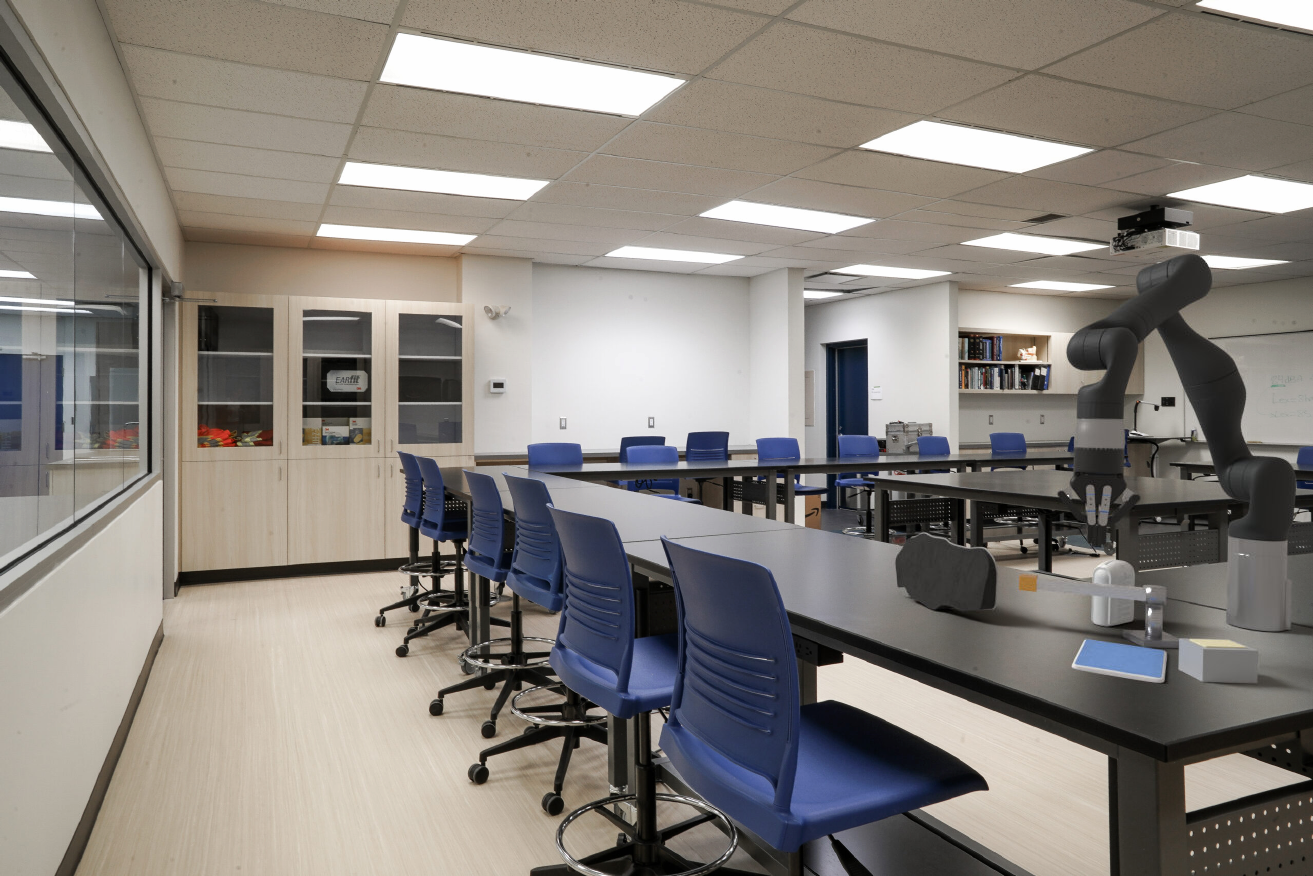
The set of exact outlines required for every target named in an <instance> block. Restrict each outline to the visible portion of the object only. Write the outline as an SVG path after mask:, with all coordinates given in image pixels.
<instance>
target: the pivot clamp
mask: <svg viewBox="0 0 1313 876" xmlns="http://www.w3.org/2000/svg"><path fill="white" fill-rule="evenodd" d="M1163 611H1164V606H1154V605H1148V604H1145V620H1144V623H1145V624H1144V630H1135V629H1133V630H1131V629H1122V637H1123V638H1125V639H1127V640H1129V641H1130V642H1133V643H1134V644H1137V645H1138V646H1139V647H1144V648H1151V649H1179V638H1180V637H1176V636H1174V635H1172V634H1170V633H1167V632H1165V631H1163V621H1164V620H1163V616H1164V615H1163V614H1164V612H1163Z"/></svg>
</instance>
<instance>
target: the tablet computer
mask: <svg viewBox="0 0 1313 876" xmlns="http://www.w3.org/2000/svg"><path fill="white" fill-rule="evenodd" d="M1167 661H1168V653H1167V651H1165V650H1163V649H1159V648H1148V647H1142V646H1139V645H1138V646H1137V645H1130V644H1122V643H1118V642H1116V643H1115V642H1109V641H1101V640H1095V639H1089V638H1087V639H1084V640H1083V642H1082V644H1081V646H1080V648H1079V650H1078V652H1077V654H1076V656H1075V658H1074V660H1073V662H1072V664H1071V668H1072V669H1073V670H1077V671H1083V672H1087V673H1094V674H1099V675H1106V676H1111V677H1118V678H1125V679H1130V680H1135V681H1136V680H1137V681H1142V682H1148V683H1149V682H1150V683H1156V684H1161V683H1164V682H1165V678H1166V677H1165V676H1166V668H1167Z"/></svg>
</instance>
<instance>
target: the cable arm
mask: <svg viewBox="0 0 1313 876" xmlns="http://www.w3.org/2000/svg"><path fill="white" fill-rule="evenodd" d="M1167 589H1168V588H1167V587H1165V586H1163V585H1157V584H1144V585H1142V587H1141V586H1134V587H1133V586H1123V585H1113V584H1102V583H1092V581H1091V582H1090V581H1082V580H1081V581H1078V580H1069V579H1060V578H1048V577H1039V575H1036V574H1024V573H1020V574H1019V577H1018V590H1019V591H1023V592H1024V591H1025V592H1032V593H1033V592H1036V593H1037V592H1038V591H1042V592H1043V591H1045V592H1054V593H1063V594H1073V595H1084V596H1090V597H1092V596H1101V597H1110V598H1120V599H1130V600H1134V601H1141V602H1142V604H1144V605H1146V604H1148V605H1154V606H1163V607H1164V606H1167Z"/></svg>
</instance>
